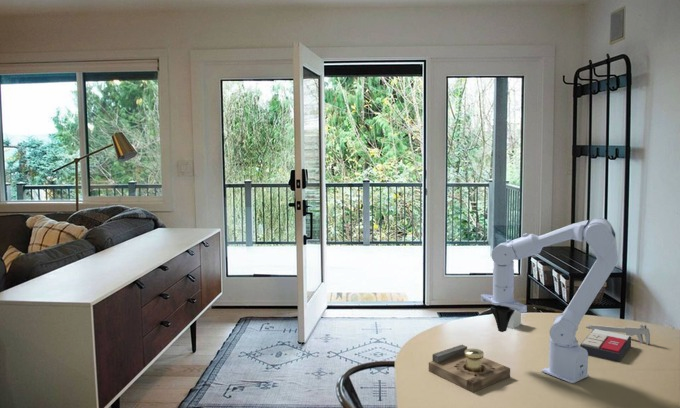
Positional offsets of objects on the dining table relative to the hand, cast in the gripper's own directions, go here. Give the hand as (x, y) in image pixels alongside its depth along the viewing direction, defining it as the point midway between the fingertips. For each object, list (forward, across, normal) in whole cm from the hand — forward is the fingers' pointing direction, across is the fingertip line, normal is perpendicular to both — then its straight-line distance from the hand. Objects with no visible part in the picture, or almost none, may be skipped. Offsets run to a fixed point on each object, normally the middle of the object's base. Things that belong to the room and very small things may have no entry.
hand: (502, 330), depth 154 cm
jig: (+9, 0, -14) cm, 17 cm away
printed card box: (+10, +13, +33) cm, 37 cm away
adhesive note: (+10, -19, +28) cm, 36 cm away
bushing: (+9, +2, -14) cm, 17 cm away
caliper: (+10, +9, +47) cm, 49 cm away
